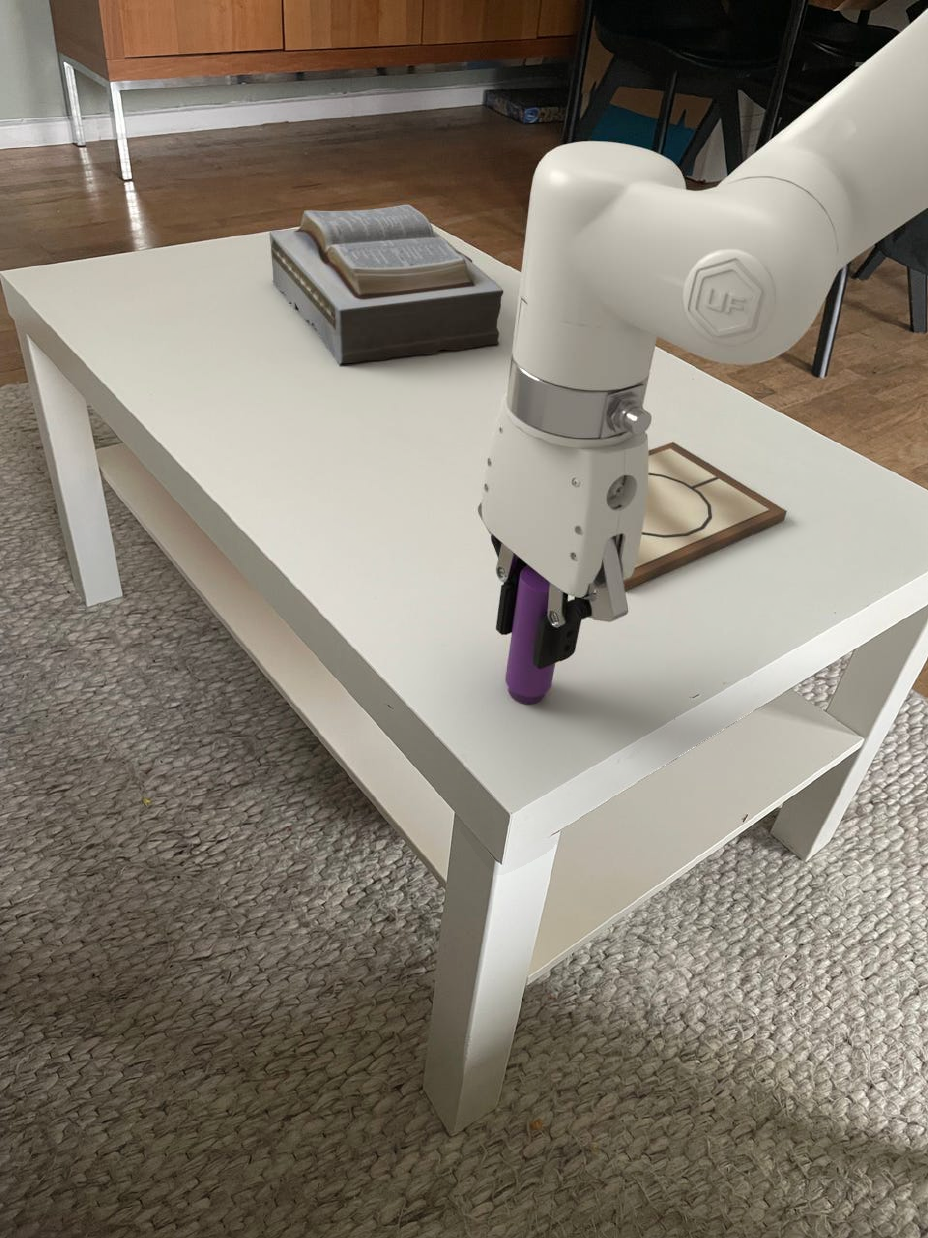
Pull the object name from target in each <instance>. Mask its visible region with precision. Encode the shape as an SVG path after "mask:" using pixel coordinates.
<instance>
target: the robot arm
mask: <svg viewBox="0 0 928 1238" xmlns="http://www.w3.org/2000/svg"><path fill="white" fill-rule="evenodd" d="M531 182H532V183H531V189H530V194H529V203H528V211H527V218H526V219H527V220H526V228H525V236H524V245H523V255H522V264H521V271H520V280H519V289H518V297H517V304H516V306H517V307H516V313H515V322H514V330H513V340H512V348H511V358H510V365H509V366H510V368H509V375H508V384H507V389H506V391H505V392H504V394H503V396H502V398H501V401H500V402H501V403H500V405H499V408H498V411H497V415H496V419H495V421H494V426H493V429H492V434H491V437H490V442H489V446H488V450H487V451H488V452H487V456H486V463H485V469H484V475H483V483H482V492H481V501H480V503H479V505H478V507H477V513H478V516H479V517H480V519H481V521H482V523H483V524H484V526H485V528H486V530H487V531H488V533H489V535H490V541H491V544H492V546H493V548H494V552H495V554H496V557H497V562H496V567H495V574H496V577H497V578H498V580H499V581H500V582H501V583H503V584H501V585H500V592H499V601H498V606H497V607H498V608H497V616H496V623H495V630H496V631H497V633H498V634H500V635H501V636H507V635H510V634H512V628H513V621H514V614H515V607H516V600H517V593H518V586H519V579H520V573H521V571H522V569H523V568H524V567H525V566H527V565H529V566H530V567H532V568H533V569H534V570H535V571H537V572H538V573H539V574H540V575H541V576H543V577H544V578H545V579H546V580H548V581H549V582H550V584H549V599H548V613H547V615H546V616H544V617H542V618H541V619H540V620H539V624H538V630H537V637H536V643H535V649H534V655H533V664H534V665H535V666H536V667H537V668H538V669H543V668H545V667H548V666H550V665H552V664H554V663H555V664H557V663H558V662H563V661H565V660H567V659H569V658H570V657H572V656H573V655H574V654H575V652H576V649H577V645H578V644H577V643H578V638H579V634H580V629H581V624H582V620H585V619H587V618H589V619H592V620H595V621H601V622H608V623H612V622H614V621H616V620H619V619H621V618H622V617H625V616H627V615H628V614H629V606H628V600H627V595H626V591H625V589H624V583H623V580H625V579H628V578H629V577H631V576H632V574H633V571H634V568H635V565H636V561H637V557H638V552H639V547H640V541H641V535H642V529H643V522H644V515H645V508H646V499H647V488H648V468H649V452H648V451H649V437H648V433H647V432H646V431H647V430H649V427H650V425H651V424H652V414H651V413H650V412H649V411H647V410H646V409H644V407H643V406H644V401H645V397H646V394H647V393H646V392H647V388H648V383H649V378H650V374H651V372H650V371H651V368H652V363H653V359H654V355H655V350H656V345H657V341H658V338H659V339H661V340H663V341H665V342H667V343H670V344H671V345H672V346H673V345H674V346H676V347H678V348H680V349H681V350H684V351H686V352H688V353H690V354H693V355H696V356H698V357H700V358H703V359H706V360H708V361H713V362H716V363H719V364H725V365H734V366H747V365H755V364H760V363H764V362H767V361H770V360H772V359H775V358H776V357H779V356H780V355H783V354H784V353H786V352H788V350H790V349H792V348H793V347H794V346H795V345H796V344H797V343H798V342H799V341H800V340H801V339H802V338H803V337H804V336H805V334H806V333H807V332H808V331H809V329H810V328H811V326H812V325H813V323H814V322H815V320H816V318H817V316H818V315H819V312H820V310H821V308H822V307H823V304H824V302H825V300H826V298H827V296H828V295H829V292H830V290H831V289H832V285H833V284H834V281H835V280H836V277H837V275H838V273H839V271H841V269H843V268H844V267H845V266H847V264H849V263H851V262H852V261H853V260H854V259H856V258H857V257H859V256H860V255H862V254H863V253H864V252H865V251H867V250H868V249H869V248H871V247H872V246H874V245H875V244H877V243H878V242H880V241H881V240H882V239H884V238H886V236H888V235H889V234H892V232H894V231H896V230H897V229H898V228H900V227H901V226H903V225H904V224H906V223H907V222H909V221H911V220H912V219H913V218H914V217H916V216H918V215H919V214H920V213H922V212H924V211H925V210H926V209H928V8H926V9H925V10H924V11H923V12H922V13H921V14H920V15H919V16H918V17H917V18H916V19H914V20H913V21H912V22H911V23H910V24H909V25H908V26H906V27H905V28H904V29H903V30H901V31H900V32H899V33H898V34H897V35H896V36H895V37H894V38H893V39H891V40H889V42H887V44H885V45H884V46H883V47H882V48H880V49H879V50H878V51H877V52H875V53H874V54H873V55H872V56H871V57H870V58H868V59H867V60H866V61H865V62H863V64H861V65H859V67H858V68H856V69H855V70H854V71H852V72H851V73H850V74H849V75H848V76H846V77H845V78H844V79H843V80H842V81H841V82H840V83H837V85H836V86H834V87H833V88H832V89H831V90H830V91H828V92H827V93H826V94H825V95H823V97H821V98H820V99H818V101H816V102H815V103H814V104H812V106H810V107H809V108H808V109H807V110H805V111H804V112H803V113H801V114H800V115H799V116H798V117H797V118H795V119H794V120H793V121H792V122H791V123H790V124H789V125H787V126H786V127H785V128H784V129H782V130H781V131H779V133H778V134H776V135H774V137H773V138H772V139H770V140H768V141H767V142H766V143H765V144H764V145H763V146H761V147H760V148H759V149H758V150H756V151H755V152H754V153H753V154H752V155H750V156H749V157H748V158H747V159H745V160H744V161H743V162H742V163H741V164H740V165H738V166H737V167H736V168H735V169H734V170H733V171H732V172H731V173H730V174H729V175H727V176H726V177H725V178H724V179H723V180H721V182H719V184H718V185H717V186H715V187H711V188H706V189H702V190H690V189H687V185H686V181H685V177H684V176H683V173H682V170H680V168H679V167H678V166H677V165H676V164H675V163H674V161H672V160H671V159H670V158H667V157H666V156H665V155H663V154H660V153H658V152H657V151H656V152H655V151H654V150H651V149H648V148H644V147H640V146H636V145H632V144H628V143H627V144H626V143H620V142H614V141H598V140H587V141H575V142H571V143H566V144H561V145H559V146H556V147H555V148H553V149H551V150H550V151H548V152H547V153H546V154H545V155H544V156H543V157H542V158H541V160H540V161H539V162H538V164H537V166H536V168H535V171H534V173H533V176H532V181H531ZM569 596H571V597H574V598H573V599H570V600H569Z"/></svg>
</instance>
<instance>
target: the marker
mask: <svg viewBox="0 0 928 1238" xmlns="http://www.w3.org/2000/svg"><path fill="white" fill-rule="evenodd" d="M549 584H550V582H549V581H548V580H546V579H545V578H544V577H543V576H541V575H540V574H539V573H538V572H537V571H535V570H534V569H533V568H532V567H530V566H529V565H527V566H525V567H524V568H523V569H522V571H521V573H520V579H519V586H518V593H517V600H516V607H515V614H514V621H513V628H512V633H511V636H510V642H509V649H508V657H507V664H506V670H505V678H504V680H505V683H506V685H507V691H508V695H509V696H510V697H511V698H512V699H513V700H514V701H515V702H518V703H519V704H523V705H534V704H538V703H540V702H541V701H542V700H543V699H544V698H545V696H546V693H547V692H548V691H550V690H551V687H552V683H553V677H554V672H555V669H556V668H555V667H556V663H554V664H552V665H550V666H548V667H545V668H543V669H538V668H537V667H536V666H535V665H534V664H533V655H534V649H535V643H536V637H537V630H538V624H539V620H540V619H541V618H542V617H544V616H546V615H547V613H548V599H549Z"/></svg>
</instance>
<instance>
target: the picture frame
mask: <svg viewBox="0 0 928 1238" xmlns="http://www.w3.org/2000/svg"><path fill="white" fill-rule="evenodd" d="M648 452H649V468H648V488H647V499H646V508H645V515H644V522H643V529H642V535H641V541H640V547H639V552H638V557H637V561H636V565H635V568H634V571H633V574H632V576H631V577H629V578H628V579H625V580H623V583H624V589H625V592H626V591H628V590H630V589H633V588H635V587H637V586H639V585H641V584H644V583H646V582H648V581H650V580H652V579H655V578H657V577H659V576H661V575H664V574H666V573H668V572H671V571H673V570H675V569H677V568H680V567H682V566H685V565H687V564H689V563H691V562H694V561H696V560H697V559H700V558H702V557H705V556H707V555H709V554H711V553H713V552H716V551H718V550H720V549H723V548H725V547H727V546H729V545H731V544H734V543H736V542H738V541H741V540H742V539H744V538H747V537H750V536H752V535H754V534H757V533H758V532H760V531H761V532H762V531H763V530H766V529H767V528H770V527H771V526H775V525H776V524H778V523H781V522H783V521H785V518H786V515H787V512H788V510H785V508H782V507H781V506H779V505H778V504H777V503H774V502H773V501H772V500H769V499H768V498H767V497H765V496H763V495H762V494H761V493H758V492H756V491H755V490H754V489H752V488H750V487H748V486H746V485H745V484H744V483H741V482H740V481H739V480H737V479H735V478H734V477H732V476H730V475H728V474H727V473H725V472H723V471H722V470H720V469H718V468H717V467H715V466H714V465H712V464H711V463H709V462H707V461H706V460H704V459H702V458H700V457H699V456H698V455H696V454H694V453H692V452H691V451H689V450H688V449H686V448H684V447H683V446H682V445H679V444H678V443H676V442H674V441H671V442H668V443H666V444H663V445H659V446H657V447H655V448H652V449H648Z"/></svg>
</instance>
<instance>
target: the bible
mask: <svg viewBox="0 0 928 1238" xmlns="http://www.w3.org/2000/svg"><path fill="white" fill-rule="evenodd" d="M268 234H269V241H270V256H271V257H270V258H271V266H272V283H273V284H274V285H275V287H276V288H277V289H278V290H279V291H280V292H282V293H283V294H284V295H285V299H286V300H287V303H288V304H291V306H292V307H293V309H295V308H296V307H297V309H298V311H299V313H300V315H301V317H302V319H304V320H305V321H308V322H309V325H310V326H312V325H314V327H315V329H316V332H317V334H318V335H319V336H320V340H321V341H322V342H323V343H324V344H325V347H326V348H327V349H328V351H329V352H330V353H331V355H332V356H333V358H335V360H336V361H337V364H338V366H339V367H340V366H341V364H352V363H354V364H357V363H360V362H365V361H374V360H375V361H385V360H386V361H387V360H389V359H391V358H399V357H400V358H401V357H406V356H409V357H411V356H415V355H435V354H439V352H438V351H442V350H446V351H462V350H465V349H475V348H479V347H484V346H490V345H499V344H500V341H499V337H500V332H499V330H498V319H499V316H500V312H501V306H502V297H503V294H504V289H503V288H502V287H501V286H500V285H499V284H497V282H496V281H495V280H493V279H492V278H491V277H490V276H489V275H487V274H486V273H485V272H484V271H483V270H482V269H480V267H478V266H477V265H476V264H475V263H473V262H474V260H472V259H471V258H470V257H468V256H467V255H465V254H464V253H462V252H461V251H459V250H458V249H457V248H456V247H454V246H453V245H452V244H451V243H450V242H449V241H448V240H446V239H445V238H443V237H442V236H441V235H440V234H438V233H437V231H435V230H434V228H433V226H432V223H431V221H430V220H429V219H428V218H427V216H426V215H425V214H424V213H422V212H421V211H419V210H417V209H416V208H415V207H414V206H412V205H410V204H402V205H395V206H389V207H388V206H387V207H382V208H374V209H360V210H356V209H355V210H312V209H311V210H310V209H307V210H304V211H303V214H302V219H301V223H300V226H299V228H291V229H284V230H271V231H269V232H268Z"/></svg>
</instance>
